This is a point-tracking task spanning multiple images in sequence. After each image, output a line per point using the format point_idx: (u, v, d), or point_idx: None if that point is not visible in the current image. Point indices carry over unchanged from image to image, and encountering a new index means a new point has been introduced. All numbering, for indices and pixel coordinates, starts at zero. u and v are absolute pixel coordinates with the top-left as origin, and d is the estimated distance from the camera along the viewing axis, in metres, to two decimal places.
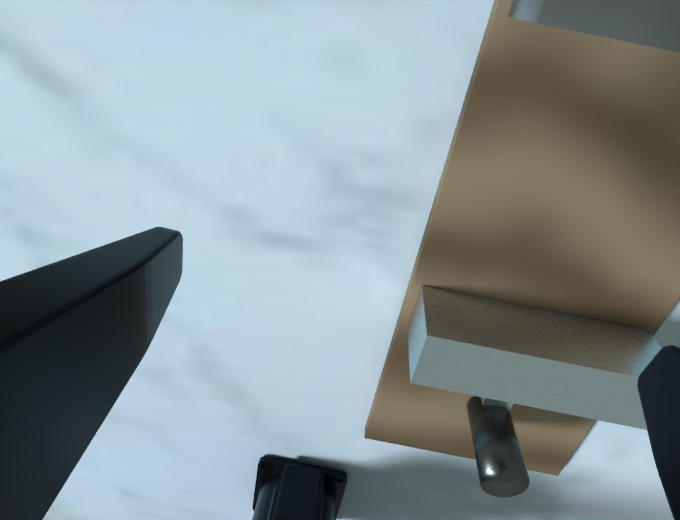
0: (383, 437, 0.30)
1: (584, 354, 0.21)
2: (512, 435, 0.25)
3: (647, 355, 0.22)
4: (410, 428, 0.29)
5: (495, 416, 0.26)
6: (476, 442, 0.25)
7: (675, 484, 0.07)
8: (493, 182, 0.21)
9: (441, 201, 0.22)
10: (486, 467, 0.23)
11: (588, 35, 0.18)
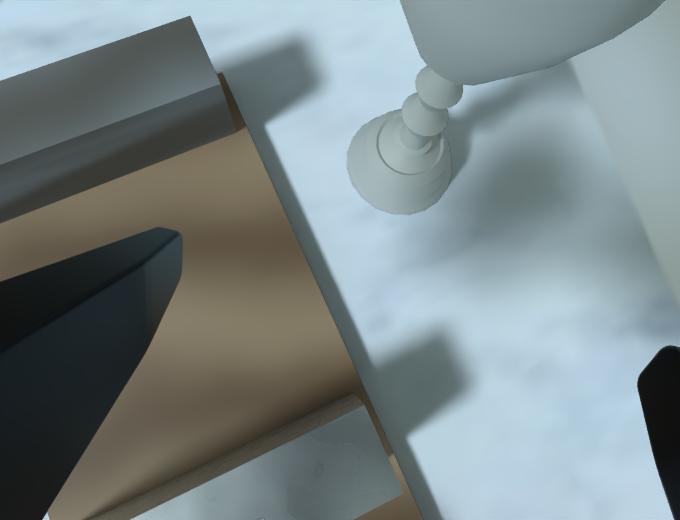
0: None
1: (239, 461, 0.15)
2: None
3: (331, 411, 0.17)
4: None
5: None
6: None
7: (675, 484, 0.07)
8: None
9: None
10: None
11: (43, 208, 0.20)
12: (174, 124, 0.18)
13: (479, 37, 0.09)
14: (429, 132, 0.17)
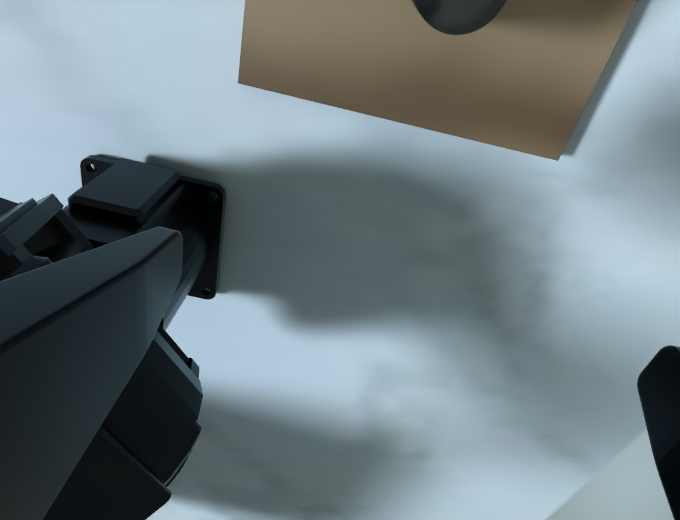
0: (268, 79, 0.18)
1: None
2: None
3: None
4: (312, 52, 0.17)
5: None
6: None
7: (675, 484, 0.07)
8: None
9: None
10: None
11: None
12: None
13: None
14: None
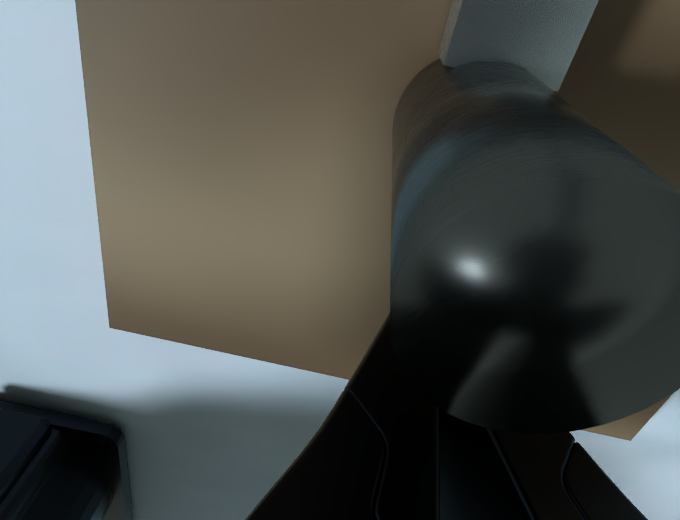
0: (156, 325, 0.11)
1: None
2: (586, 118, 0.05)
3: None
4: (221, 296, 0.10)
5: (498, 72, 0.05)
6: (400, 170, 0.05)
7: None
8: None
9: None
10: (431, 219, 0.03)
11: None
12: None
13: None
14: None
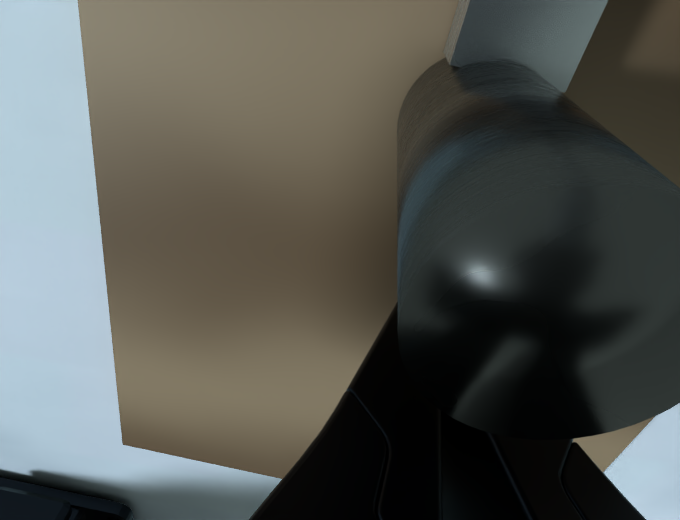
0: (161, 444, 0.14)
1: None
2: None
3: None
4: (212, 428, 0.13)
5: (505, 73, 0.05)
6: (406, 172, 0.05)
7: None
8: None
9: None
10: (440, 225, 0.03)
11: None
12: None
13: None
14: None
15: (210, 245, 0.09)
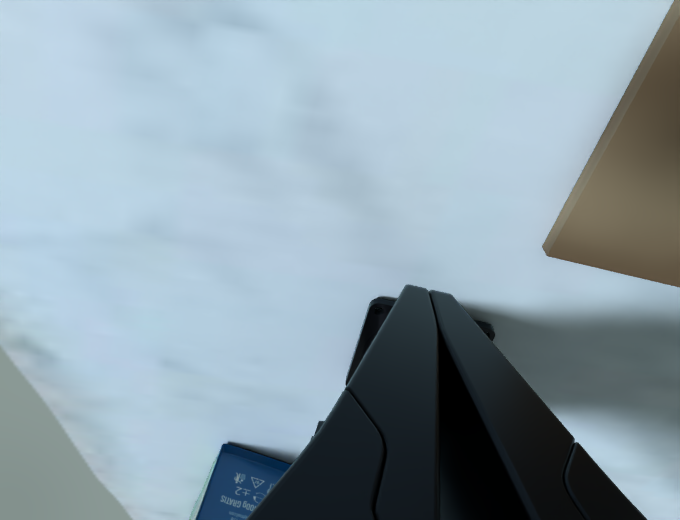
0: (576, 254, 0.20)
1: None
2: None
3: None
4: (625, 236, 0.19)
5: None
6: None
7: None
8: None
9: None
10: None
11: None
12: None
13: None
14: None
15: None
